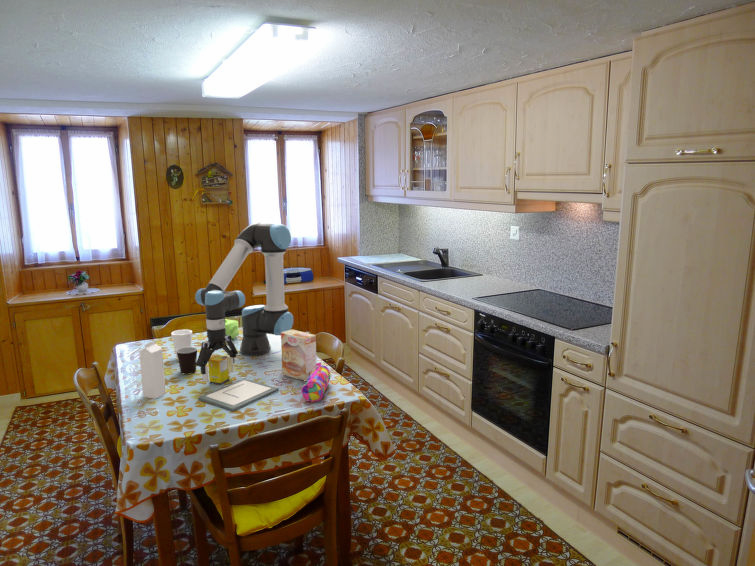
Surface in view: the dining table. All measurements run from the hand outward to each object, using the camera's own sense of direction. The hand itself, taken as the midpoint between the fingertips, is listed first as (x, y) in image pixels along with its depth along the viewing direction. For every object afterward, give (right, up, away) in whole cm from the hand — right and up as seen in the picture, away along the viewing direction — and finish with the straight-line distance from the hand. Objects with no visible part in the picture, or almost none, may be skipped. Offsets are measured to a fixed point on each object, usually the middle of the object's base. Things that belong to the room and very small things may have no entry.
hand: (218, 376), depth 224 cm
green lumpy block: (-15, +9, +61) cm, 64 cm away
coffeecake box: (+33, -1, +7) cm, 34 cm away
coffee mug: (-17, 0, +14) cm, 22 cm away
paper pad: (+12, -5, -13) cm, 19 cm away
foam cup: (-26, +3, +31) cm, 41 cm away
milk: (-22, -5, -14) cm, 26 cm away
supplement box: (0, -3, +1) cm, 3 cm away
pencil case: (+43, -5, -11) cm, 45 cm away
